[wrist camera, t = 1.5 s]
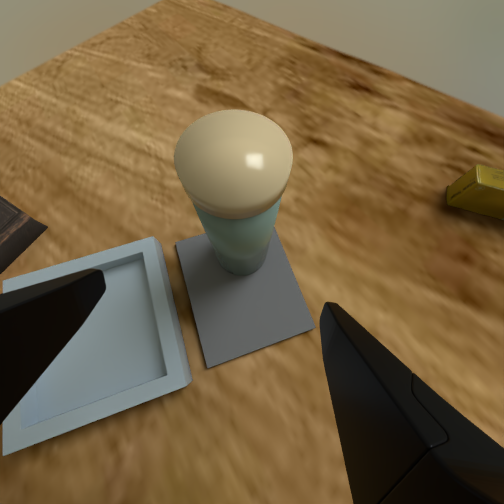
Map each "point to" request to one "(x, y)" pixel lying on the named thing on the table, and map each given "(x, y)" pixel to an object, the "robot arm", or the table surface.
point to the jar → (235, 182)
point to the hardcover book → (15, 232)
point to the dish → (106, 347)
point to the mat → (241, 301)
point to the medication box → (479, 191)
